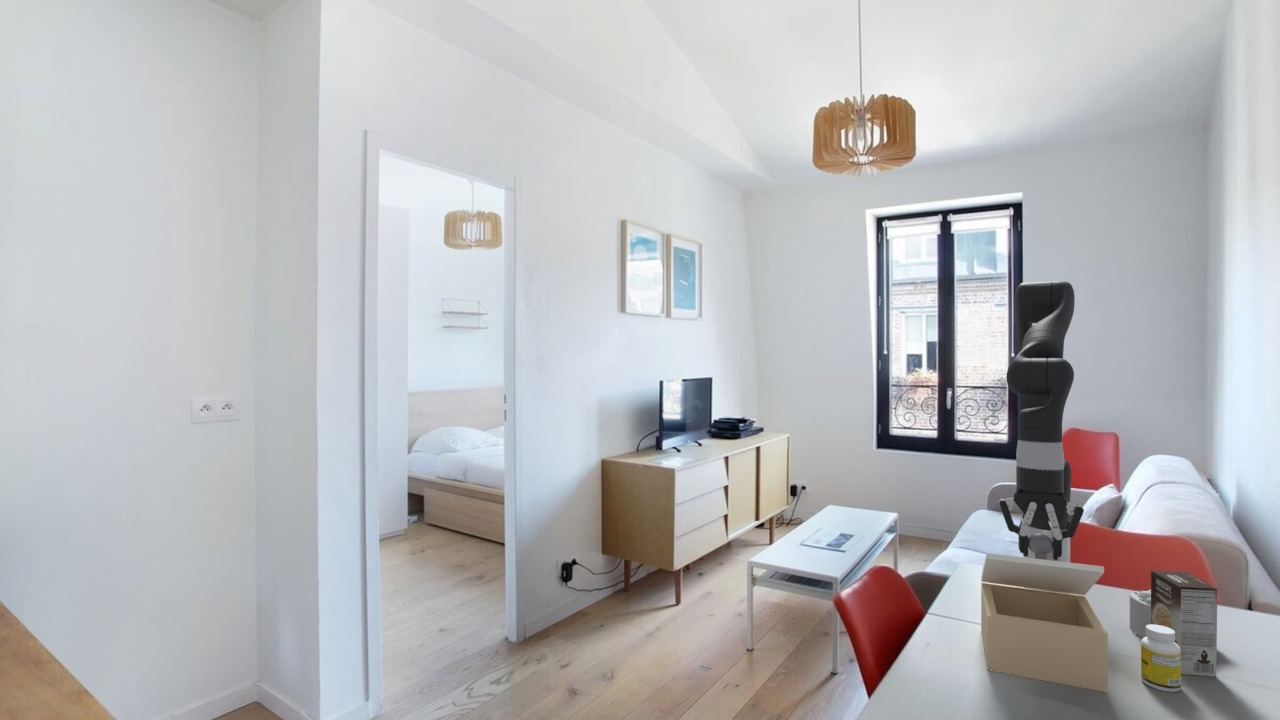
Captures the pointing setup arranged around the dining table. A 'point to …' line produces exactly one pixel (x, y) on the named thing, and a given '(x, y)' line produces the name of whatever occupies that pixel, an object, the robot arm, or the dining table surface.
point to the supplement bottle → (1160, 659)
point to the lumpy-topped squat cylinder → (1140, 612)
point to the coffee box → (1187, 618)
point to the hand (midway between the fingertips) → (1039, 556)
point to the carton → (1043, 636)
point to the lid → (1040, 570)
